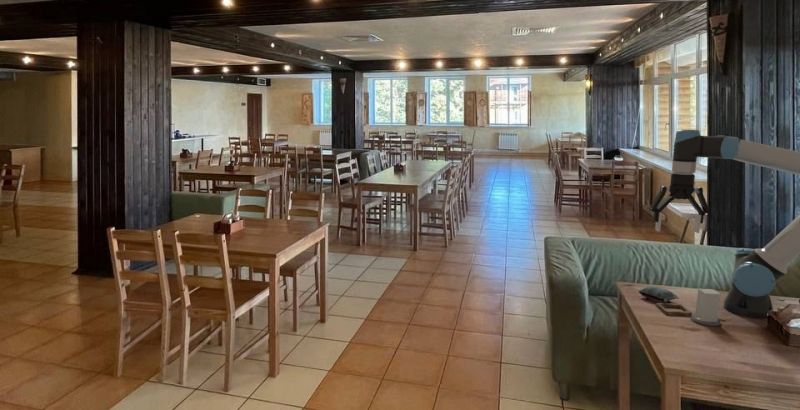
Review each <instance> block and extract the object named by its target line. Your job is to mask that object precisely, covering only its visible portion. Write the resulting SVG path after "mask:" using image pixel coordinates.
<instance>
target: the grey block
mask: <svg viewBox="0 0 800 410" xmlns="http://www.w3.org/2000/svg"><path fill="white" fill-rule="evenodd" d="M720 301H721V293H719V292H718V291H717V290H715V289H714V288H712V289H711V288H698V289H697V296H696V306H695V313H694V314H695V316H696V317H697V318H698V319H700V320H701V321H706V322H717V319H719V318H718V317H719V310H720V309H719V308H720V303H721V302H720Z"/></svg>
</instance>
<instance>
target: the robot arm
mask: <svg viewBox="0 0 800 410" xmlns="http://www.w3.org/2000/svg"><path fill="white" fill-rule="evenodd" d="M700 132H701V131H700V130H699V129H679V130H677V131H676V132H675V137H674V138H675V139H674V142H673V143H674V145H673V153H672V154H673V155H672V163H671V164H672V165H671V172H672V173H671V174H670V185H669V186H664V185H661V186H660V189H659V192H658V194H657V195H656V197H655V198H654V200H653V201H652V203H651V205H650V206H649V207H648V210H649V211H650V212H653V221H654V223H655V228H654V231H657V232H658V233H659V232H661V227H662V218H663V216H662V215H663V213H662V211H664V209H666V207H667V206H668V205H669V204H670V203H671V202H672V201H674V200H688V201H689V203H690V204H691V205H692V207H693V208H694V209H695V211H696V212H697V213H695V214H694V215H695V216H694V223H693V224H694V225H693V232H694V233H697V234H699V233H700V229H701V224H703V223H704V216H705V215H706V214H710V212H711V211H710V208H709V205H708V203H707V200H706V198H705V195H704V188H703V187H701V186H696V187H694V185H695V179H696V176H695V174H696V171H697V170H696V169H697V162H698V161H697V160H698V158H709V159H723V160H728V159H729V160H732V161H733V160H734V161H737V162H742V163H745V164H749V165H755V166H757V167H758V166H759V167H764V168H768V169H771V170H775V171H779V172H784V173H788V174H792V175H797V176H800V151H797V150H792V149H787V148H782V147H777V146H773V145H768V144H764V143H760V142H759V143H758V142H755V141H749V140H746V139H745V140H744V139H741V138H739V137H737V136H729V135H724V134H720V135H715V136H714V135H711V136H710V135H701V133H700ZM668 191H669V194H668V195H667V196H666V193H668ZM693 193H695V194H696V196H697V198H698V201H699V202H697V201H696V199H695V198H694V196H693V195H692V194H693ZM665 196H666V198H665V199H664V200H663V198H664V197H665ZM662 200H663V201H662ZM661 201H662V202H661ZM699 203H700V205H699ZM798 257H800V214H799V215H797V216H796V218H794V219H793V220H792V221H791V222H790V223H789V224H787V225H786V226H785V228H784V229H782V230H781V231H780V232H779V233H778V234H777V235H776V236H775V237H774V238H773V239H772V240H771V241H769V242H768V243H767V244H766V245H765V246H764V247H762V248H749V247H748V248H747V247H739V248H737V249H736V252H735V254H734V258H735V259H734V263H733V264H734V266H733V272H732V281H731V288H730V289H729V291H728V293H727V295H726V297H725V298H724V302H723V307H724V309H725V310H727V311H729V312H731V313H733V314H737V315H740V316H744V317H745V316H746V317H750V318H751V317H752V318H762V319H763V318H768V317H767V313H768V311H773V312H774V307H773V303H772V299H771V295H770V292H772V291H773V289H774V288H775V285H776V283H778V282H779V281H780V280H781V279H782V278H783V277H784V276H785V275H787V273H788V266H789V265H790V264H791V263H792V262H793V261H795V260H796V259H797V258H798Z"/></svg>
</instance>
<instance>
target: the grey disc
mask: <svg viewBox="0 0 800 410" xmlns="http://www.w3.org/2000/svg"><path fill="white" fill-rule="evenodd" d="M690 320H691V321H692V322H693V323H695V324H698V325H701V326H707V327H718V326H720V325H721V320H720V319H719V318H718V319H717V322H706V321H701V320H700V319H698V318H697V317H696V316H695V313H694V314H693V313H692V315H691V316H690Z"/></svg>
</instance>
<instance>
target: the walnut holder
mask: <svg viewBox="0 0 800 410" xmlns="http://www.w3.org/2000/svg"><path fill="white" fill-rule="evenodd" d="M655 307H656V308H657V309H658V310H660V311H661V313H663V314H664V315H666V316H685V317H686V316H687V317H691V315H693V312H692V311H690V310H689V309H688V308H687V307H685V305H683V304H682V303H669V302H667V303H666V302H663V303H662V302H655ZM666 308H670V309H671V308H674V309H675V308H676V309H677V308H678V309H679V310H680V311H678V310H668V309H666ZM682 310H683V311H682Z"/></svg>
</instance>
